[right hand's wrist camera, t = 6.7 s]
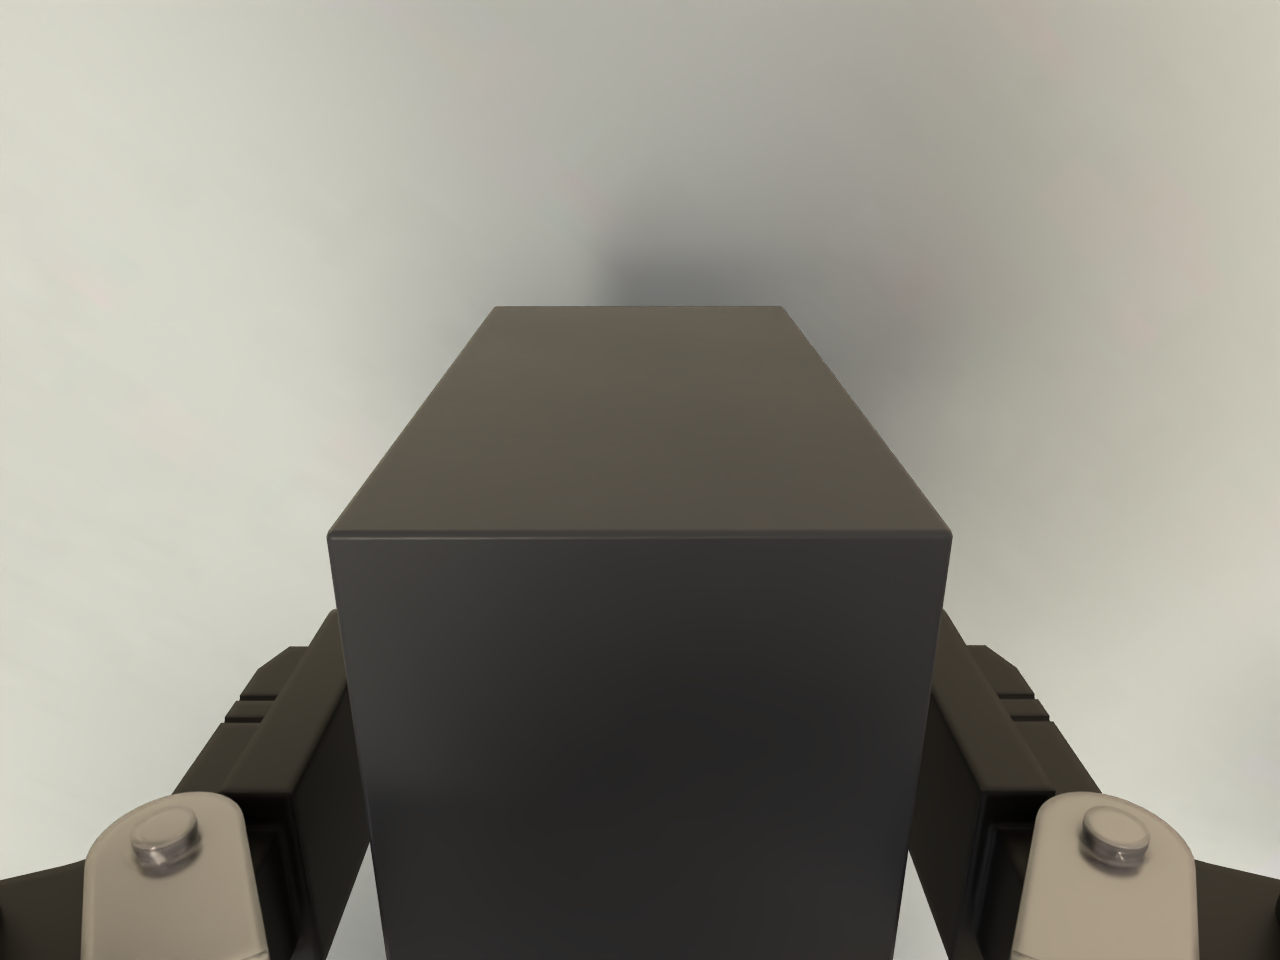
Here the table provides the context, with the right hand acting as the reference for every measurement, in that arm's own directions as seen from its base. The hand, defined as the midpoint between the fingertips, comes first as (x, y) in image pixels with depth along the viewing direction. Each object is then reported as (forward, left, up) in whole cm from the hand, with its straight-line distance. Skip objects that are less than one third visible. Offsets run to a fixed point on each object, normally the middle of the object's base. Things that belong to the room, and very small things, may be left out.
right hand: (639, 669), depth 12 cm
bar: (+7, +4, -4) cm, 9 cm away
